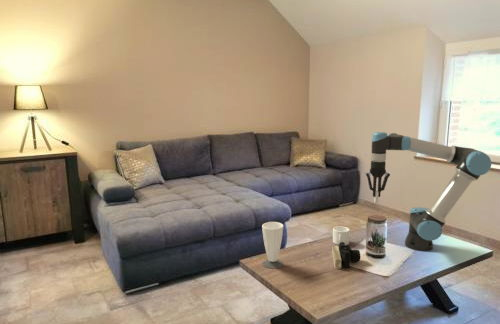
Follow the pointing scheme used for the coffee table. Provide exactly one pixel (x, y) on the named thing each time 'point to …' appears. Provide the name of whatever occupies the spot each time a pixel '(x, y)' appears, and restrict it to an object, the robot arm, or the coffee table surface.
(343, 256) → the camera
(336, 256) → the board
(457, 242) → the coffee table surface
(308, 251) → the coffee table surface
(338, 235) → the mug
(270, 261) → the cup
